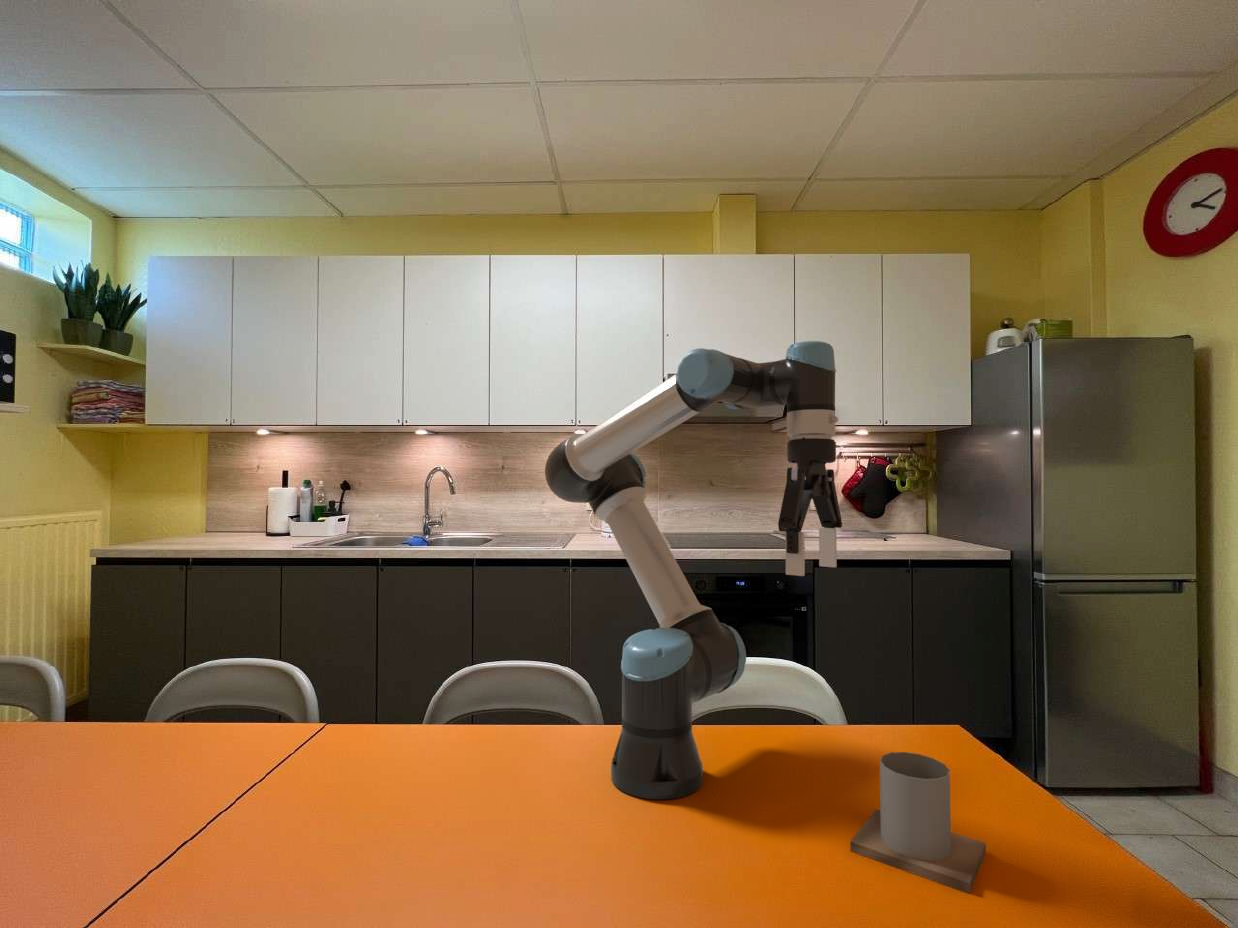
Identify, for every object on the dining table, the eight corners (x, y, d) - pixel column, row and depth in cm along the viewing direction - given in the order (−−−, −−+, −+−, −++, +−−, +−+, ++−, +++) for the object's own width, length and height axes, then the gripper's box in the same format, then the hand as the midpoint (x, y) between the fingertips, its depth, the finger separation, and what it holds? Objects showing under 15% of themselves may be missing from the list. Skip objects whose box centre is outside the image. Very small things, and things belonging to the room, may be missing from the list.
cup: (961, 863, 78) (960, 781, 79) (892, 857, 80) (891, 777, 80) (936, 827, 87) (935, 753, 87) (874, 822, 88) (873, 750, 88)
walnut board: (850, 850, 83) (850, 841, 83) (875, 817, 92) (875, 808, 92) (969, 893, 74) (969, 883, 74) (985, 852, 83) (985, 842, 83)
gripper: (802, 431, 90) (804, 581, 89) (860, 442, 109) (861, 565, 108) (754, 434, 94) (755, 576, 94) (817, 444, 114) (818, 562, 113)
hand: (812, 570), depth 101 cm, fingers open, 13 cm apart
